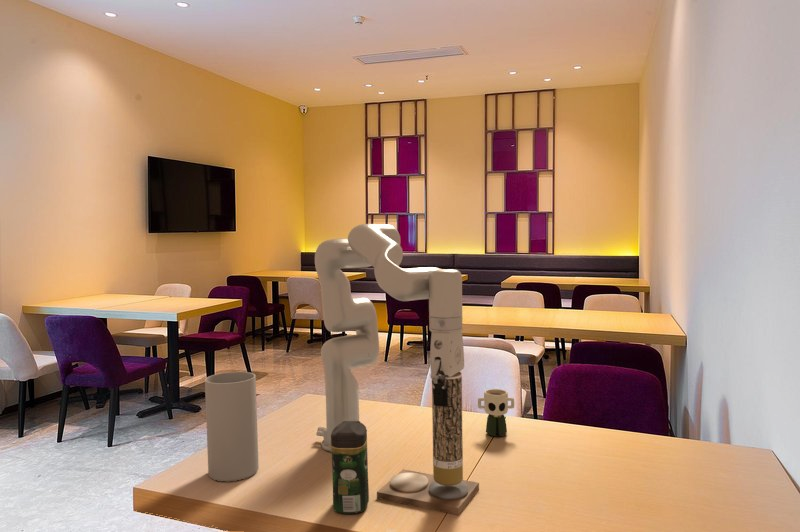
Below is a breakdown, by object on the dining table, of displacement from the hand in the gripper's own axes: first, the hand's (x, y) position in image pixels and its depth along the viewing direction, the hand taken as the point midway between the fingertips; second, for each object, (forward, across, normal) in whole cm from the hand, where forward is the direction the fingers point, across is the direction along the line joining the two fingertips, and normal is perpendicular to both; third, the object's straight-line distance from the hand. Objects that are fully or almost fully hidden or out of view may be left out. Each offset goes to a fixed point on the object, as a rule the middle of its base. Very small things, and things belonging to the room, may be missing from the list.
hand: (446, 400), depth 132 cm
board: (+23, 0, +5) cm, 23 cm away
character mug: (+23, +45, +2) cm, 50 cm away
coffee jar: (+23, -13, +18) cm, 32 cm away
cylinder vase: (+23, -9, +56) cm, 61 cm away
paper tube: (+19, 0, 0) cm, 19 cm away
